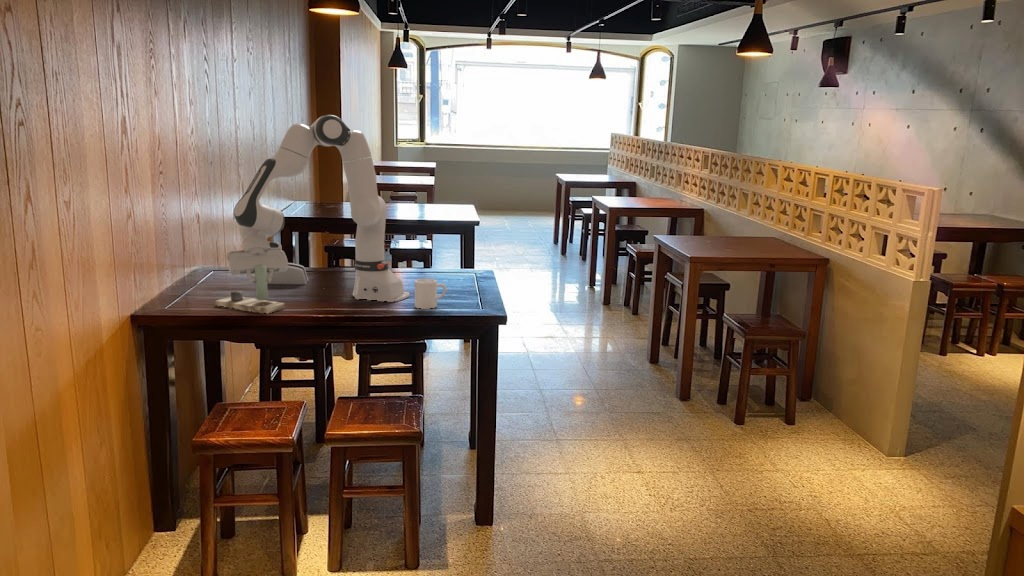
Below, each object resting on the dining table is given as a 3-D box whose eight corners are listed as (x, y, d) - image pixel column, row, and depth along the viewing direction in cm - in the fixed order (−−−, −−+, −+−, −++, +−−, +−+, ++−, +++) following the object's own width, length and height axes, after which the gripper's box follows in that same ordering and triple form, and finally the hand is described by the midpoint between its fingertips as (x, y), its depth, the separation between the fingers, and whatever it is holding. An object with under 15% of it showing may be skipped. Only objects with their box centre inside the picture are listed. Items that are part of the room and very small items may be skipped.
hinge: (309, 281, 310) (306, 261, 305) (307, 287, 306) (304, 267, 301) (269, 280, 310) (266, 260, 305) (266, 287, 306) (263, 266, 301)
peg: (270, 298, 265) (268, 265, 263) (262, 300, 262) (261, 267, 259) (261, 296, 267) (260, 264, 264) (253, 299, 263) (252, 266, 261)
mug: (445, 310, 270) (445, 284, 268) (413, 308, 271) (412, 282, 269) (448, 304, 278) (448, 279, 276) (417, 303, 279) (417, 278, 277)
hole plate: (284, 308, 267) (284, 295, 266) (267, 314, 259) (267, 300, 258) (233, 300, 276) (232, 287, 275) (215, 305, 268) (214, 292, 267)
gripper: (226, 246, 262) (230, 278, 255) (285, 243, 271) (291, 275, 264) (225, 256, 266) (230, 288, 260) (283, 253, 276) (289, 284, 269)
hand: (261, 281), depth 262 cm, fingers closed on peg, 4 cm apart
